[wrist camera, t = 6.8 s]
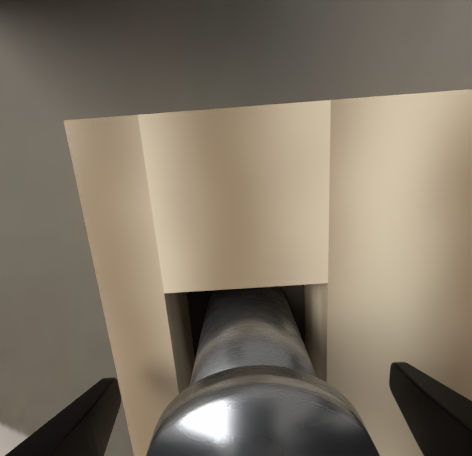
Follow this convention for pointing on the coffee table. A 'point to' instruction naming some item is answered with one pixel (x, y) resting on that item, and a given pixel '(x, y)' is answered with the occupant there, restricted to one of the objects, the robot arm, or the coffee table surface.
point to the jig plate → (287, 239)
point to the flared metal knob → (257, 389)
